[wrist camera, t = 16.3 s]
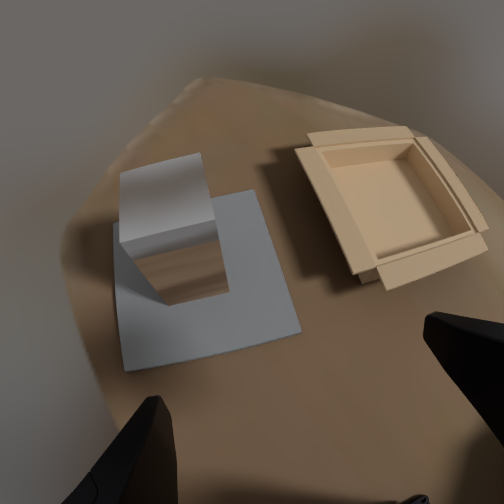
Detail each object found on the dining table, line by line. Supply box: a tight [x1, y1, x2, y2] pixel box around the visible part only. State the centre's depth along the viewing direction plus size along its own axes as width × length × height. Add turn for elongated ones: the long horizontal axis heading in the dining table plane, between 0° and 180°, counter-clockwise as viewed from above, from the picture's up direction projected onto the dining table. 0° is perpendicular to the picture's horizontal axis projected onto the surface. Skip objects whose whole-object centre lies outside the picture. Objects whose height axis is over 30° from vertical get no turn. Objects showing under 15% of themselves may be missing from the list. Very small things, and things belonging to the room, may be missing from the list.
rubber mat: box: [113, 189, 302, 372], centre depth 24 cm, size 14×14×1 cm
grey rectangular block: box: [119, 153, 230, 306], centre depth 20 cm, size 5×5×10 cm
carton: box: [294, 126, 489, 292], centre depth 26 cm, size 17×17×4 cm
